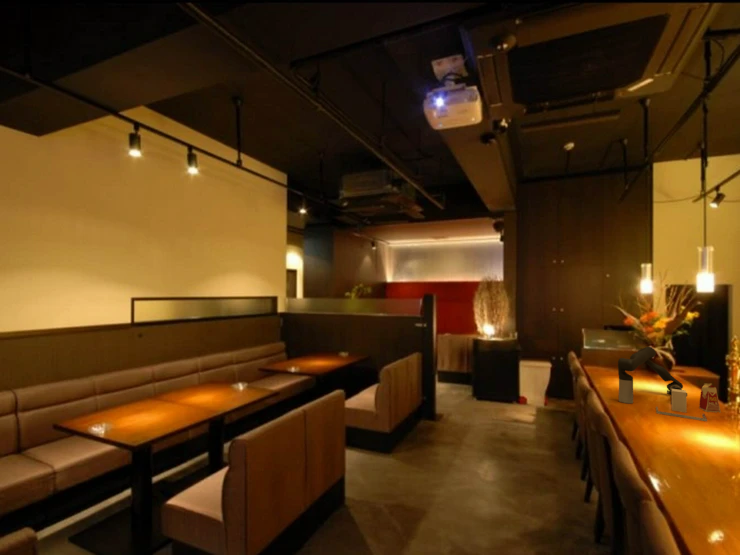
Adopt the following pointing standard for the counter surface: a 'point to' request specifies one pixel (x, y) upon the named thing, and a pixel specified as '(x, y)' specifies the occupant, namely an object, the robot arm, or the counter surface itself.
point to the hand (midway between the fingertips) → (677, 396)
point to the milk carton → (709, 399)
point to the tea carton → (679, 400)
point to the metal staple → (681, 415)
